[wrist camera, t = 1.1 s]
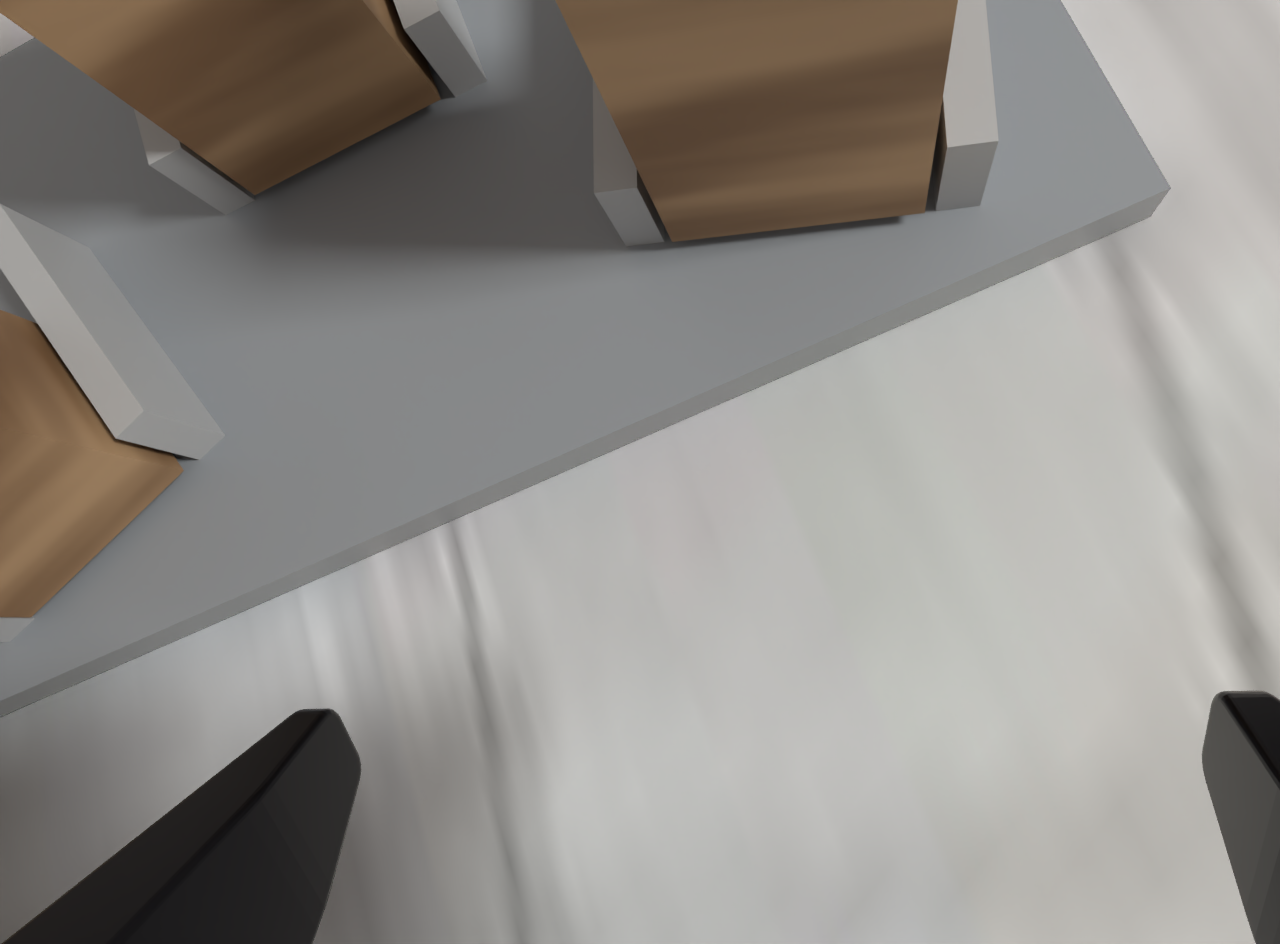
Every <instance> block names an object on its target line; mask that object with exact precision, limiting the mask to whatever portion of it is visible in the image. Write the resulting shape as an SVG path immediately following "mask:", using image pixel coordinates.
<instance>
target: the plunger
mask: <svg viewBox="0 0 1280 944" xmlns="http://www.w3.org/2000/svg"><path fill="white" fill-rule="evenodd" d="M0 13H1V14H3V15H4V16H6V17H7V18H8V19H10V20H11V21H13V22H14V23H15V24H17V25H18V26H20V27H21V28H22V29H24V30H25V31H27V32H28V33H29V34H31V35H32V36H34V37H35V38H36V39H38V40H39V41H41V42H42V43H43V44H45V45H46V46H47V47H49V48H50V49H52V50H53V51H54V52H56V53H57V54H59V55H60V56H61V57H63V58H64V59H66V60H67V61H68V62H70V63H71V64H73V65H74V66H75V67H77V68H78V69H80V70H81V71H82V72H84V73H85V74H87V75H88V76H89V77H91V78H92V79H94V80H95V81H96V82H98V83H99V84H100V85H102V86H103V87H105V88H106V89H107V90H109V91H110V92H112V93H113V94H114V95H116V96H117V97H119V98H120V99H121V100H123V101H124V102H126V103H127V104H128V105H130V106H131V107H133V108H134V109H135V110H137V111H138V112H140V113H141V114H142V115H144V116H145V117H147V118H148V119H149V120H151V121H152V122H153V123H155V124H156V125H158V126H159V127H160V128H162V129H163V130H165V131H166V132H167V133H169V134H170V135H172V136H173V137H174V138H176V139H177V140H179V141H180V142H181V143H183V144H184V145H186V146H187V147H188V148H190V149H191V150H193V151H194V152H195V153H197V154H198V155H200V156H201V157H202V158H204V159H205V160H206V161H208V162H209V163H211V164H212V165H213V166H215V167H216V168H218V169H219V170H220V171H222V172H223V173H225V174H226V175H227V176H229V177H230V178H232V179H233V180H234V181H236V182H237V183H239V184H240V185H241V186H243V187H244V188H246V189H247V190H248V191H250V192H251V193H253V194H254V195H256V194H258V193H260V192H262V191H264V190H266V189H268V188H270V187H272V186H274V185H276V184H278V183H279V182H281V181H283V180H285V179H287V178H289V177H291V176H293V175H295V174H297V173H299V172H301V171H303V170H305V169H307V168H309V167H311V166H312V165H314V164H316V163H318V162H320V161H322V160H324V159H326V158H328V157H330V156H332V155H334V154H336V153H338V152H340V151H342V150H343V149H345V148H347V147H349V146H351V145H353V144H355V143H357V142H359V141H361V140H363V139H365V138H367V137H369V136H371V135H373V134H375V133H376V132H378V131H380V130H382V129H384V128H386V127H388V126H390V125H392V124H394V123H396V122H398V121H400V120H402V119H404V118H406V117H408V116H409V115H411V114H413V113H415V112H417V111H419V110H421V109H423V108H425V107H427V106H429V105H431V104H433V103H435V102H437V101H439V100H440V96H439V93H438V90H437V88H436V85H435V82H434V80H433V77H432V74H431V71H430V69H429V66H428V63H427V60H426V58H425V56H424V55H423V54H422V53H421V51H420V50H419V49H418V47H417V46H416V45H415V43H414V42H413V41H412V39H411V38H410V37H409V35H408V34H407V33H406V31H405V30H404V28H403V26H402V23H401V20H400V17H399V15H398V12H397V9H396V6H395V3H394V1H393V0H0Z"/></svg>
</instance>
